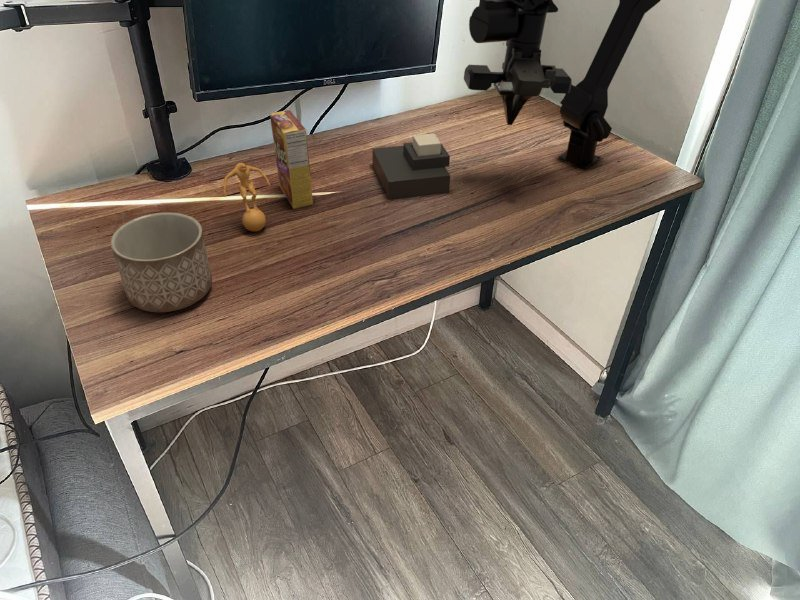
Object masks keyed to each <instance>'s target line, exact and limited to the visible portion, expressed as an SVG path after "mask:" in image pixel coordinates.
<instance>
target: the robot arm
mask: <svg viewBox="0 0 800 600" xmlns="http://www.w3.org/2000/svg"><path fill="white" fill-rule="evenodd" d="M660 2H661V0H619V2H618V6H617V8H616V10H615V12H614V14H613V17H612V19H611V21H610V23H609V25H608V27H607V29H606V31H605V33H604V36H603V37H602V39H601V42H600V44H599V46H598V48H597V51H596V53H595V54H594V57H593V59H592V61H591V63H590V65H589V68H588V70H587V72H586V74H585V76H584V77H583V79H582V80H581V81H580V82H578V83H577V84H575V85H574V84H573V81H572V78H571V77H570V74H568V73H567V72H566V71H565V70H564V69H563V68H558V67H557V68H556V65H549V64H542V61H541V57H542V50H541V45H542V40H543V34H544V29H545V24H546V19H547V15H548V14H551V13H558V11H559V8H558V6H557V5H556V4H555V3H554V1H553V0H479V3H478V6H476V7H475V8H473V10H472V12H471V15H470V16H469V19H468V29H469V34H470V37H471V39H472V40H473V42H474V43H476V44H487V43H501V42H505V46H506V49H505V55H504V62H502V65H501V69H502V71H491V69H490V68H489V66H488V65H487V64H468V65H467V66H466V67H465V68H464V71H463V72H464V74H463V81H464V83H465V85H466V87H467V88H468V90H471V91H484V92H485V91H488V90H489V89H490V88H492V86H493V87H494V89H495V91H496V92H497V94H498V95H499V96H500V97H501V101H502V104H503V111H504V115H505V122H506V125H507V126H512V125H514V123H515V120H516V119H517V117H518V115H519V114H520V112H521V110H522V109H523V107H524V105H525V104H526V103H527V102H528V101H529V100H531V99H532V98H534V97H538V96H540V95H541V92H542V90H543V89H550V90H551V91H552V92H553V94H565V95H564V96H563V98H562V100H561V101H560V102H559V103H560V105H561V106H560V109H559V114H560V117H561V119H562V125H563V127H565V128H567V129H569V130H570V134H569V138H568V144H567V149H566V152H564V153H562V154H561V155H559V157H558V160H560V161H562V162H564V163H568V164H570V165H573V166H575V167H578V168H581V169H583V170H586V169H588V168H590V167H591V166H594V164H596V163H597V162H599V161H601V159H602V157H601V156H599V155H597V154H596V151H597V147H598V144H599V143H601V142H603V141H604V140H605V139H608V137H609V135H610V134H611V131H612V130H613V128H612V126H611V125H610V124H609V123H608V120H607V119H606V118H605V114H606V112H607V109H608V107H609V95H608V94H609V87H610V85H611V83H612V81H613V79H614V76H615V75H616V73H617V71H618V69H619V66H620V65H621V63H622V61H623V59H624V57H625V55H626V52H627V50H628V49H629V47H630V44H631V43H632V40H633V38H634V36H635V34H636V33H637V30H638V28H639V26H640V24H641V22H642V20H643V18H644V16H645V15H646V13H648V12H649V11H650V10H652V9H653V8H654V7H655V6H656V5H657V4H659V3H660ZM598 142H599V143H598Z"/></svg>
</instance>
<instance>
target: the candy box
mask: <svg viewBox="0 0 800 600" xmlns="http://www.w3.org/2000/svg"><path fill="white" fill-rule="evenodd" d="M269 119H270V126H271V133H272V139H273V140H272V141H273V147H274V148H273V149H274V155H275V156H274V157H275V163H276V170H277V177H278V184H279V188H280V190H281V191H282V193H283V194H284V196H285V197H286V199H287V201H288V202H289V204H290V205H291V207H292V209H293V210H296V209H300V208H304V207H308V206H309V207H310V206H313V205H314V200H313V199H314V198H313V188H312V178H311V177H312V176H311V167H310V165H311V164H310V155H309V146H308V135H307V129H306V127H305V126H304V125H303V124H302V123H301V122H300V120H298V118H297V117H296V116H295V115H294V113H293V112H292V110H291V109H287V110H282V111H276V112H272V113H269Z"/></svg>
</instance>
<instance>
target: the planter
mask: <svg viewBox="0 0 800 600" xmlns="http://www.w3.org/2000/svg"><path fill="white" fill-rule="evenodd" d="M110 247H111V250H112V255H113V257H114V261H115V263H116V266H117V270H118V274H119V276H120V279H121V282H122V286H123V289H124V292H125V295H126V298H127V300H128V301H129V302H130V304H132V305H133V306H134V307H135V308H137V309H139V310H142V311H145V312H149V313H167V312H168V313H169V312H174V311H180V310H183V309H186V308H188V307H190V306H193V305H195V304H196V303H197V302H199V301H200V300H202V299H203V298H204V297H205V296H206V295H207V293H209V291H210V289H211V287H212V283H213V277H212V272H211V267H210V262H209V257H208V253H207V247H206V243H205V237H204V232H203V228H202V225H201V223H200V222H199V220H197V219H195V218H194V217H192V216H190V215H187V214H183V213H181V212H180V213H179V212H156V213H150V214H146V215H142V216H138V217H136V218H133V219H131V220H129V221H127V222H125V223H124V224H123V225H121V226H120V227H119V228H118V229H117V230H115V231H114V233H113V235H112V236H111V239H110Z"/></svg>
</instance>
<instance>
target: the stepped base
mask: <svg viewBox="0 0 800 600" xmlns="http://www.w3.org/2000/svg"><path fill="white" fill-rule="evenodd" d="M371 155H372V167H373V169H374V172H375V174H376V176H377V178H378V180H379V182H380V185H381V186H382V189H383V191H384V193H385V195H386V197H387V200H397V199H406V198H407V199H408V198H414V197H423V196H432V195H441V194H449V193H450V185H451V174H450V172H449V170H448V169H447V167H450V162H451V161H450V159H451V155H450V154H449V153H448V151H447V150H446V148H445V147H444V145H443V144H442V143H441V153H440V154H438V155H428V156H417V154H416V152H415V151H414V149H413V141H412V142H404V143H403V145H396V146H385V147H374V148H372V154H371Z"/></svg>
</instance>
